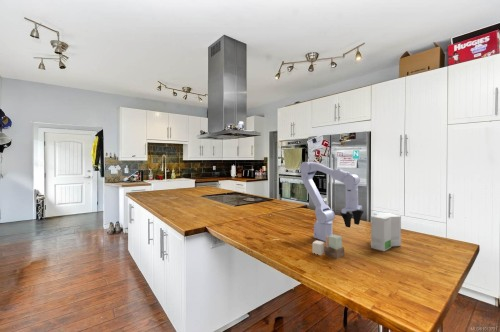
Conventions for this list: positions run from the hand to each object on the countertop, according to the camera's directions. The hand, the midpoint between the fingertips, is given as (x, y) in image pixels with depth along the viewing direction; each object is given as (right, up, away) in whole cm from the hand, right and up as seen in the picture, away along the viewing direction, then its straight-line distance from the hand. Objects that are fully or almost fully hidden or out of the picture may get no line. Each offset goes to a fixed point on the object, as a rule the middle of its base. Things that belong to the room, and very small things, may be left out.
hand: (352, 225), depth 114 cm
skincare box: (+13, -11, -2) cm, 17 cm away
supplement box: (+19, -10, +4) cm, 22 cm away
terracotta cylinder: (-11, -11, -1) cm, 16 cm away
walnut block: (-12, -11, -10) cm, 19 cm away
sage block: (-12, -7, -10) cm, 17 cm away
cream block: (-19, -11, -7) cm, 23 cm away
